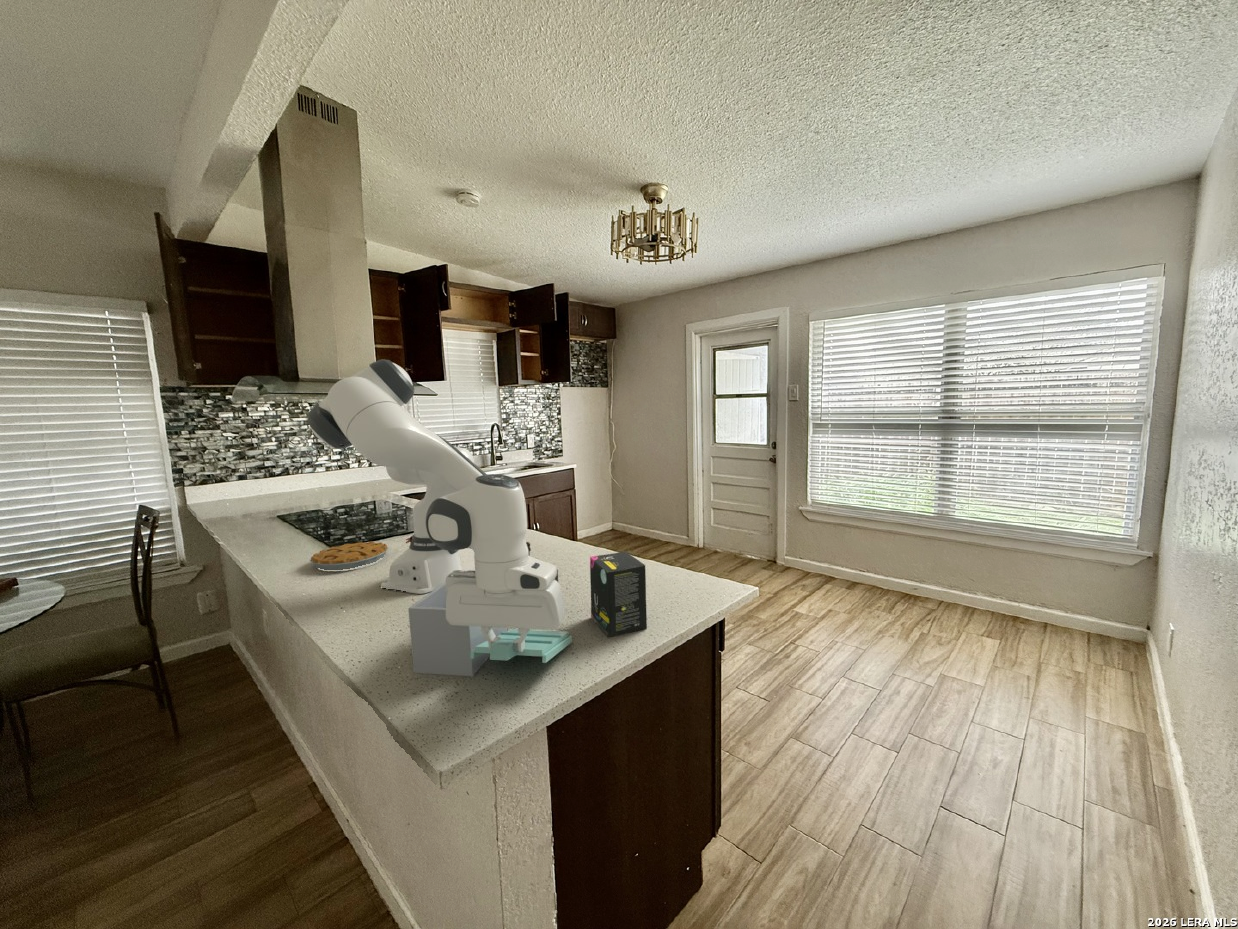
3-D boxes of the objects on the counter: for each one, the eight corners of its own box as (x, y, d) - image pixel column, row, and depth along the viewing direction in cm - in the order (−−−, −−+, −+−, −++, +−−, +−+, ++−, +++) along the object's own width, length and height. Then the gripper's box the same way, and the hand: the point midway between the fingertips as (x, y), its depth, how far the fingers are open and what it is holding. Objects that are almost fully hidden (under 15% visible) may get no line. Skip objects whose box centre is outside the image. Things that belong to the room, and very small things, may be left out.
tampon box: (590, 617, 106) (588, 556, 104) (626, 610, 110) (625, 550, 108) (608, 638, 96) (606, 571, 94) (647, 629, 100) (646, 564, 98)
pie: (403, 554, 159) (401, 540, 159) (353, 576, 138) (351, 560, 137) (350, 551, 164) (348, 537, 164) (294, 572, 143) (292, 557, 143)
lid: (459, 664, 76) (460, 642, 77) (508, 639, 97) (509, 622, 97) (538, 669, 74) (539, 646, 74) (571, 642, 95) (572, 625, 95)
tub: (413, 672, 85) (408, 608, 84) (457, 630, 101) (453, 575, 100) (472, 676, 83) (468, 610, 82) (507, 632, 100) (504, 577, 98)
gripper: (435, 576, 76) (440, 656, 77) (555, 580, 73) (558, 662, 74) (454, 563, 82) (459, 637, 83) (565, 566, 79) (568, 643, 80)
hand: (507, 649), depth 79 cm, fingers closed on lid, 3 cm apart
